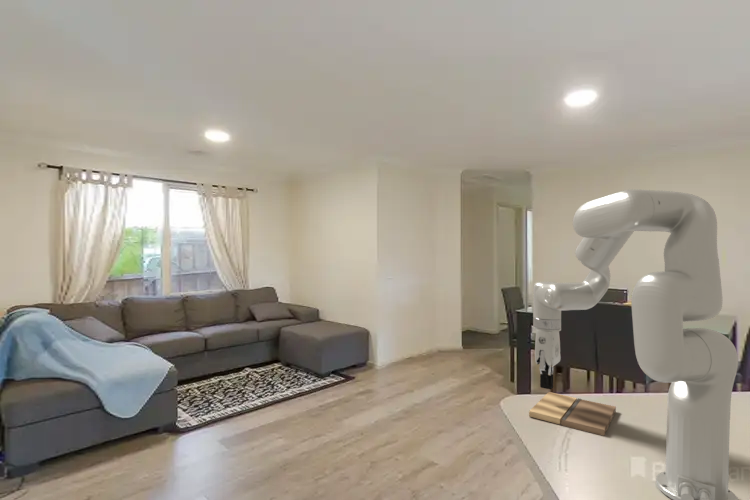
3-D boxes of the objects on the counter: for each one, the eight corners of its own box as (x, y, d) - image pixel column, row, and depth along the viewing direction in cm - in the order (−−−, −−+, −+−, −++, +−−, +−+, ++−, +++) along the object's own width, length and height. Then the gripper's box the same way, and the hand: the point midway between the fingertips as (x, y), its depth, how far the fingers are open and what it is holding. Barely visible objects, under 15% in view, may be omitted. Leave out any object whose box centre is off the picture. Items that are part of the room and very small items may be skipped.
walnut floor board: (604, 435, 105) (604, 429, 105) (561, 425, 111) (561, 419, 111) (615, 411, 121) (615, 406, 121) (577, 403, 127) (577, 398, 127)
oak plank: (560, 424, 111) (560, 418, 111) (529, 416, 116) (529, 410, 116) (576, 402, 127) (576, 398, 127) (548, 396, 132) (548, 391, 132)
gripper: (553, 329, 115) (553, 397, 114) (566, 322, 126) (566, 384, 126) (525, 326, 119) (525, 391, 119) (540, 320, 131) (540, 379, 131)
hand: (546, 387), depth 122 cm, fingers closed
